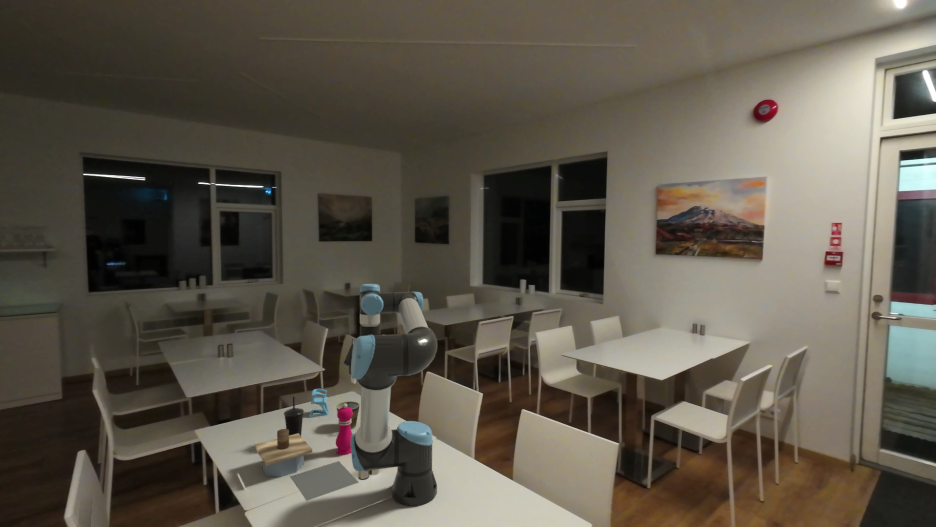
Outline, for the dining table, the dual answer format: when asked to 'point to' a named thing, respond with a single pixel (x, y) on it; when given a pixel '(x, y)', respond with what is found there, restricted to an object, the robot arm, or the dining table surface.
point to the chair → (319, 402)
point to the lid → (282, 447)
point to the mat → (323, 480)
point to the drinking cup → (294, 419)
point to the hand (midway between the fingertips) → (370, 379)
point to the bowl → (284, 467)
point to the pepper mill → (344, 430)
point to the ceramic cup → (355, 409)
